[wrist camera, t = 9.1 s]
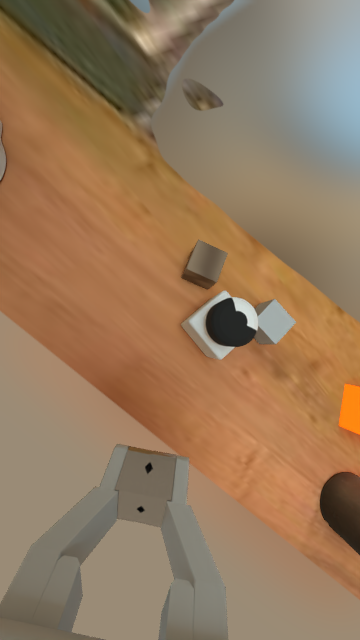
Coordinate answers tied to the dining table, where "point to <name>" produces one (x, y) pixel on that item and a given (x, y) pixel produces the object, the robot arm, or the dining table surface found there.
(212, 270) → the walnut block
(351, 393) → the orange juice
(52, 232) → the dining table surface
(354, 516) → the pillar candle
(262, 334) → the grey painted block
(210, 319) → the medicine bottle
